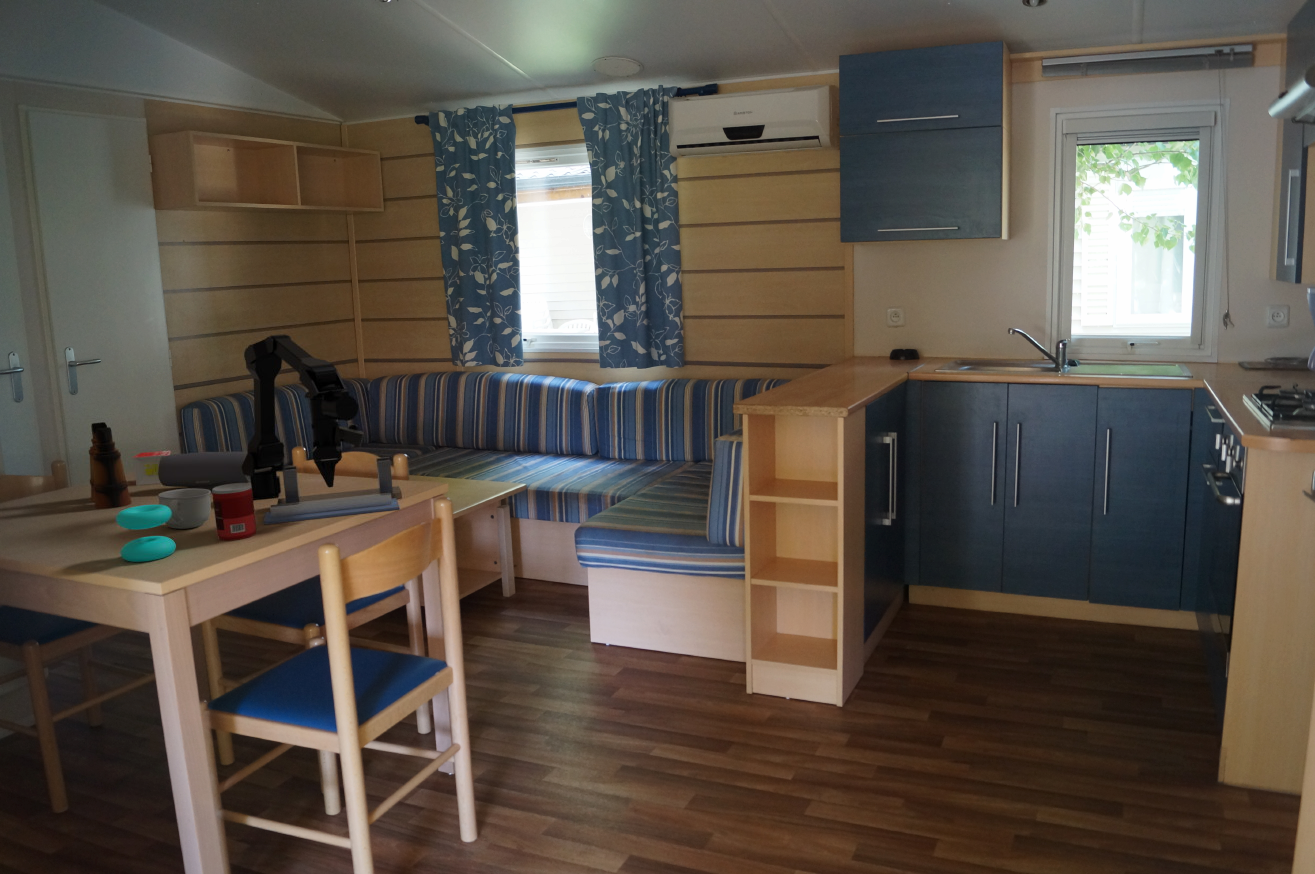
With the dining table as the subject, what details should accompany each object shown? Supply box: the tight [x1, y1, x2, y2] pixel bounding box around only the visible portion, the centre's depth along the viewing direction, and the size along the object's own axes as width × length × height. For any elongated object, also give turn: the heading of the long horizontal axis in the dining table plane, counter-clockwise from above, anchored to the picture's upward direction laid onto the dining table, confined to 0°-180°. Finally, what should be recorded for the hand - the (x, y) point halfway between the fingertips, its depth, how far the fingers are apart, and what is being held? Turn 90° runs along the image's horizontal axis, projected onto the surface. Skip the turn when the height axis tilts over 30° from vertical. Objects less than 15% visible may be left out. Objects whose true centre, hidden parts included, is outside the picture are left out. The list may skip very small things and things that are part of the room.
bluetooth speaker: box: [158, 451, 251, 491], centre depth 264 cm, size 23×9×10 cm, turn 92°
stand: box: [276, 456, 403, 505], centre depth 242 cm, size 29×8×10 cm, turn 109°
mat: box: [263, 498, 401, 525], centre depth 232 cm, size 30×10×1 cm, turn 109°
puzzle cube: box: [132, 450, 172, 486], centre depth 277 cm, size 8×8×8 cm
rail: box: [269, 493, 392, 518], centre depth 231 cm, size 27×2×2 cm, turn 109°
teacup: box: [157, 488, 212, 530], centre depth 222 cm, size 14×11×8 cm
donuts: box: [115, 504, 177, 563], centre depth 199 cm, size 10×10×10 cm
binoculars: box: [88, 421, 132, 510], centre depth 251 cm, size 18×8×20 cm, turn 35°
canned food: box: [211, 483, 257, 542], centre depth 212 cm, size 8×8×11 cm
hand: (330, 483), depth 230 cm, fingers open, 9 cm apart
